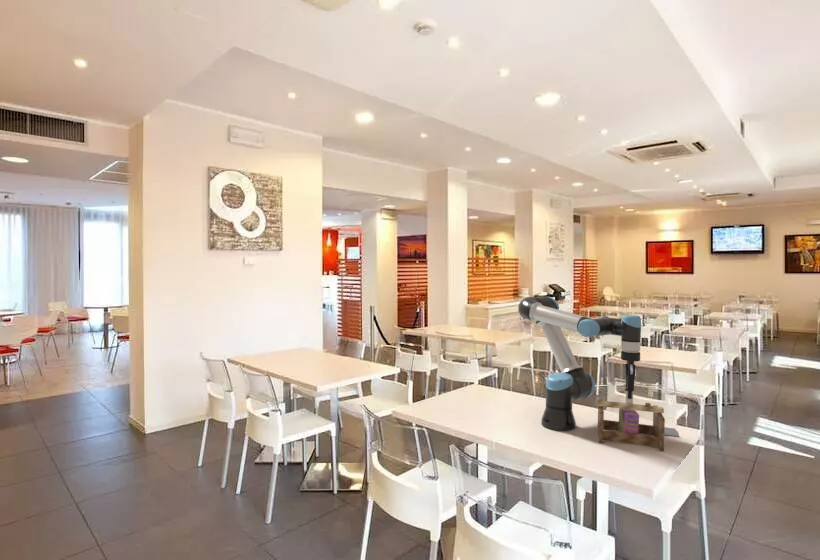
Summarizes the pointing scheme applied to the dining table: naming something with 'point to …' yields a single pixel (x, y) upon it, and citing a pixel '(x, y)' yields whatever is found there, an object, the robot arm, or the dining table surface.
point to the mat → (670, 432)
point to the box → (628, 421)
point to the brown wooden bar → (631, 406)
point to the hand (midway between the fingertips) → (629, 405)
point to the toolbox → (629, 438)
